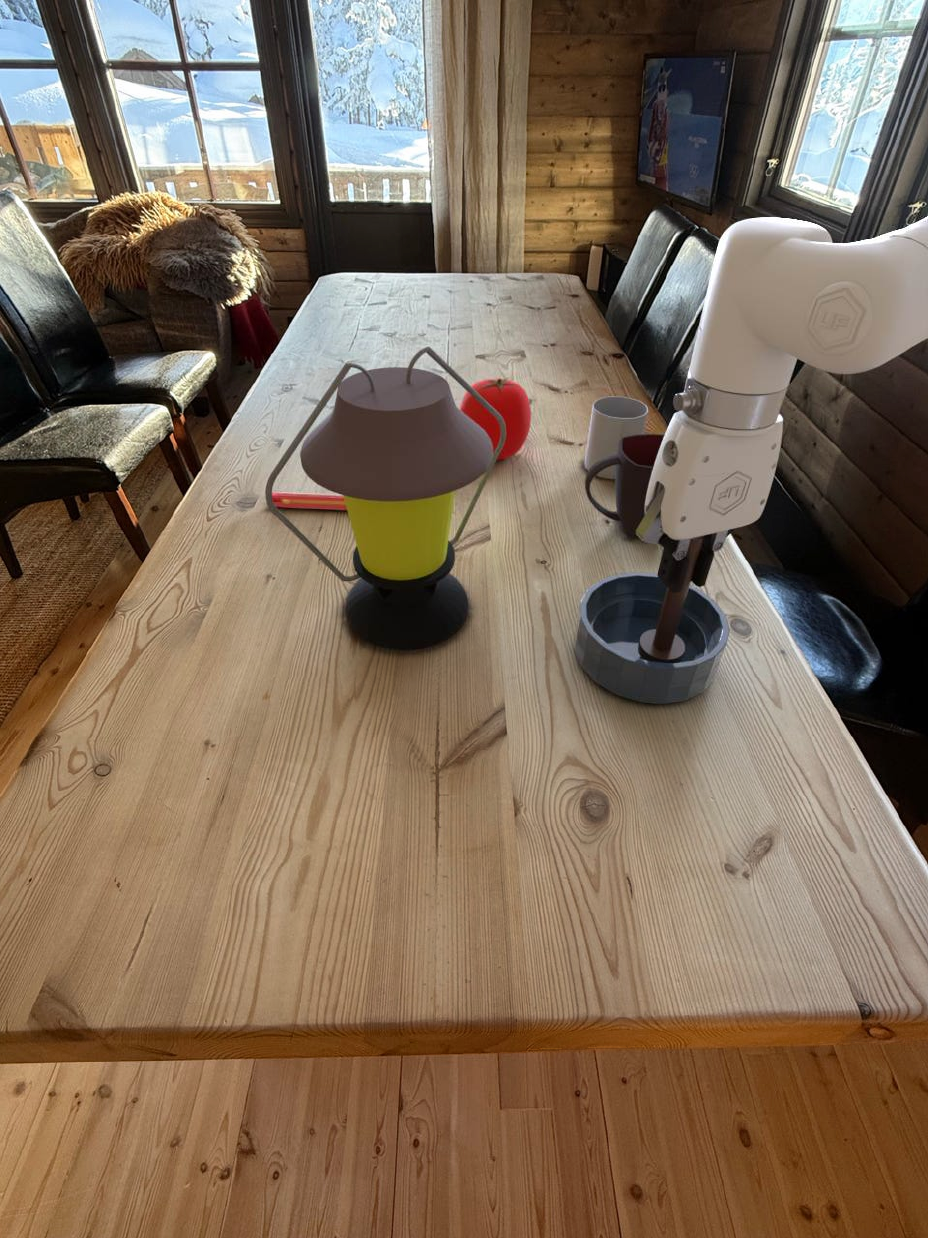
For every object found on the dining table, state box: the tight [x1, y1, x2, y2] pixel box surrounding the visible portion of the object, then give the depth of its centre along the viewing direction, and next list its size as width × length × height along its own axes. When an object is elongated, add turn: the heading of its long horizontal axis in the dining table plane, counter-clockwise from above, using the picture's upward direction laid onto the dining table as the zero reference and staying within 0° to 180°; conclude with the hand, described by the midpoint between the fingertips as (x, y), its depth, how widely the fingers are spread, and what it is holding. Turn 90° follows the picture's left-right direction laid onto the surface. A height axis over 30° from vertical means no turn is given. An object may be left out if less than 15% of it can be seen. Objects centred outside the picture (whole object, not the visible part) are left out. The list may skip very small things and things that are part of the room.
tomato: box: [459, 377, 532, 461], centre depth 106 cm, size 12×12×13 cm
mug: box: [584, 433, 665, 540], centre depth 89 cm, size 10×14×12 cm
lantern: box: [264, 346, 506, 651], centre depth 70 cm, size 25×19×30 cm
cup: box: [584, 395, 649, 480], centre depth 104 cm, size 8×8×10 cm
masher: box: [638, 535, 704, 664], centre depth 66 cm, size 5×5×15 cm
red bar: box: [272, 491, 347, 511], centre depth 96 cm, size 24×2×5 cm
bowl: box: [573, 571, 731, 705], centre depth 72 cm, size 15×15×6 cm
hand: (680, 580), depth 65 cm, fingers closed on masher
